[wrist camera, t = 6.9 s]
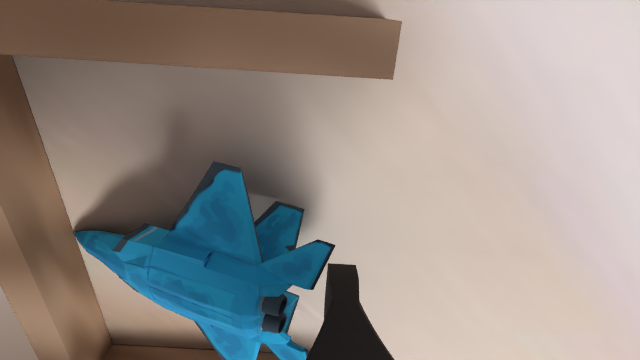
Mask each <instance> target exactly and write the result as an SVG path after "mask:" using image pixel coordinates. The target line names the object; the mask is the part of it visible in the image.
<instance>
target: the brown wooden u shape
mask: <svg viewBox="0 0 640 360" xmlns="http://www.w3.org/2000/svg"><path fill="white" fill-rule="evenodd" d="M401 24H402V21H396V20H390V19H379V18H364V17H350V16H335V15H320V14H305V13H290V12H275V11H260V10H245V9H230V8H215V7H200V6H186V5H171V4H156V3H141V2H126V1H111V0H0V286H1V288H2V289H3V291H4V293H5V295H6V297H7V299H8V301H9V303H10V305H11V307H12V309H13V311H14V313H15V314H16V316H17V318H18V320H19V322H20V324H21V326H22V328H23V330H24V332H25V334H26V336H27V337H28V339H29V341H30V343H31V345H32V347H33V349H34V351H35V353H36V355H37V357H38V359H39V360H222V359H221V358H220V356H219V355H218V354H217V352H216V351H215V350H203V349H184V348H164V347H145V346H126V345H113V344H112V342H111V339H110V336H109V333H108V330H107V327H106V324H105V322H104V319H103V316H102V313H101V310H100V307H99V304H98V301H97V299H96V296H95V293H94V290H93V287H92V284H91V281H90V279H89V276H88V273H87V270H86V267H85V264H84V261H83V259H82V256H81V253H80V250H79V247H78V244H77V241H76V238H75V236H74V234H73V230H72V227H71V224H70V221H69V218H68V216H67V213H66V210H65V207H64V204H63V201H62V198H61V195H60V193H59V190H58V187H57V184H56V181H55V178H54V175H53V173H52V170H51V167H50V164H49V161H48V158H47V155H46V153H45V150H44V147H43V144H42V141H41V138H40V135H39V132H38V130H37V127H36V124H35V121H34V118H33V115H32V112H31V110H30V107H29V104H28V101H27V98H26V95H25V92H24V89H23V87H22V84H21V81H20V78H19V75H18V72H17V69H16V67H15V64H14V61H13V58H12V55H19V56H34V57H50V58H65V59H81V60H96V61H112V62H128V63H143V64H159V65H174V66H190V67H205V68H221V69H236V70H252V71H267V72H283V73H298V74H314V75H329V76H345V77H360V78H376V79H391V80H393V75H394V68H395V62H396V55H397V49H398V43H399V36H400V30H401ZM256 360H280V359H279V358H278V357H277V356H276V355H275V353H260V352H258V355H257V359H256Z"/></svg>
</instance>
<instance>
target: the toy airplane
mask: <svg viewBox="0 0 640 360" xmlns="http://www.w3.org/2000/svg"><path fill="white" fill-rule="evenodd" d="M303 212H304V209H302V208H298V207H295V206H291V205H288V204H284V203H281V202H278V201H276V202H275V203H274V204H273V205H272V206H271V207H270V208H269V209H268V210H267V211H266V212H265V213H264V214H263V215H261V216H260V217H259V218H258V219H257V220H256V221H255V222H254V219H253V215H252V211H251V207H250V203H249V199H248V194H247V190H246V186H245V182H244V178H243V174H242V170H241V168H237V167H233V166H229V165H226V164H222V163H218V162H213V164H212V165H211V167H210V168H209V170H208V171H207V173H206V175H205V176H204V178H203V179H202V181H201V182H200V184H199V186H198V187H197V189H196V190H195V192H194V193H193V195H192V197H191V198H190V200H189V201H188V203H187V204H186V206H185V208H184V209H183V211H182V212H181V214H180V215H179V217H178V219H177V220H176V222H175V223H174V225H173V226H172V228H171V229H170V231H169V230H166V229H162V228H159V227H155V226H152V225H148V224H144V225H143V226H141V227H139V228H137V229H136V230H134V231H133V232H131V233H129V234H128V235H121V234H115V233H109V232H104V231H79V232H75V233H73V234H74V235H75V237H76V238H77V240H78V241H79V243H80V244H81V245H82V246H83V248H84V249H85V250H86V251H87V252H88V253H90V254H91V255H93V256H94V257H96V258H97V259H99V260H100V261H101V262H102V263H104V264H105V265H106V266H107V267H108V268H110V269H111V270H112V271H113V272H115V273H116V274H117V275H118V276H119V278H121V279H122V280H123V281H124V282H125V283H127V284H128V285H129V286H130V287H132V288H133V289H134V290H136V291H137V292H139V293H141V294H142V295H144V296H146V297H147V298H149V299H151V300H152V301H154V302H155V303H157V304H159V305H160V306H162V307H164V308H166V309H168V310H171V311H173V312H175V313H178V314H180V315H182V316H184V317H187V318H189V319H191V320H194V321H195V323H196V324H197V326H198V327H199V328H200V330H201V331H202V333H203V334H204V335H205V337H206V338H207V340H208V341H209V342H210V344H211V345H212V347H213V348H214V349H215V351H216V352H217V354H218V355H219V356H220V358H221V359H222V360H256V359H257V355H258V352H259V349H260V346H261V343H265V344H266V345H267V346H268V347H269V348H270V349H271V350H272V351H273V352H274V353H275V355H276V356H277V357H278V358H279V359H280V360H306V358H307V356H308V354H309V353H308V351H307V350H306V349H305V348H303V347H301V346H299V345H297V344H295V343H293V342H292V341H291V337H290V336H289V335H288V334H287V332H288V329H289V326H290V323H291V320H292V317H293V314H294V311H295V308H296V305H297V302H298V299H299V296H298V295H295V294H293V293H290V292H288V291H286V290H287V289H288V288H290V287H291V286H292V285H295V286H298V287H301V288H304V289H308V290H313V289H314V287H315V285H316V283H317V281H318V279H319V277H320V275H321V273H322V271H323V269H324V267H325V265H326V263H327V261H328V259H329V257H330V255H331V253H332V251H333V249H334V247H335V245H333V244H330V243H327V242H324V241H321V240H315V241H313V242H311V243H308V244H306V245H304V246H301V247H299V248H297V249H296V245H297V240H298V235H299V231H300V226H301V222H302V217H303Z"/></svg>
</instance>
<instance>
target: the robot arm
mask: <svg viewBox="0 0 640 360" xmlns="http://www.w3.org/2000/svg"><path fill="white" fill-rule="evenodd" d="M306 360H394V358H393V357H392V356H391V354H390V353H389V351H388V350H387V349H386V347H385V346H384V344H383V343H382V341H381V339H380V338H379V336H378V335H377V333H376V331H375V330H374V328H373V326H372V324H371V323H370V321H369V319H368V317H367V315H366V314H365V312H364V310H363V308H362V306H361V304H360V302H359V278H358V273H357V269H356V265H345V264H328V271H327V281H326V292H325V308H324V322H323V325H322V327H321V329H320V332H319V334H318V336H317V338H316V340H315V342H314V344H313V346H312V348H311V350H310V352H309V354H308V356H307V358H306Z"/></svg>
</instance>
